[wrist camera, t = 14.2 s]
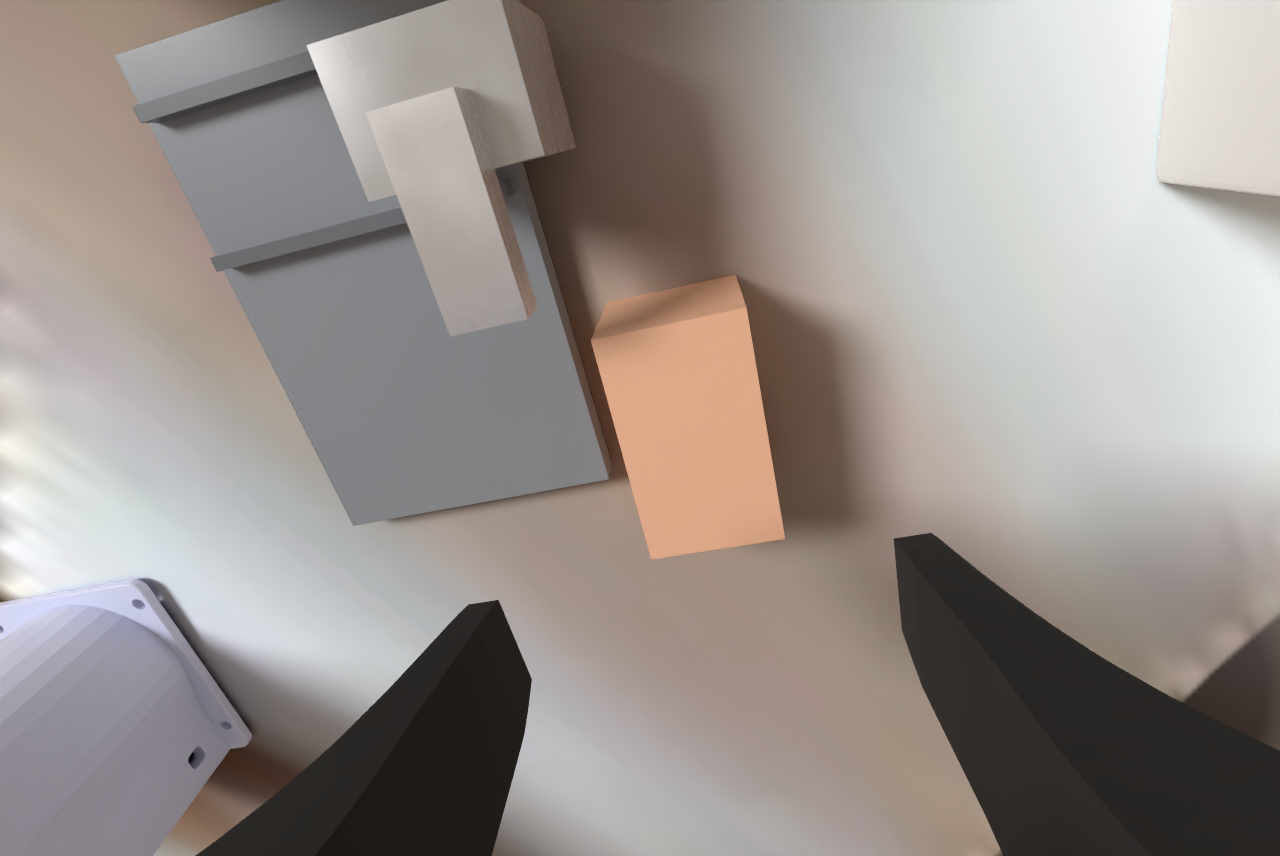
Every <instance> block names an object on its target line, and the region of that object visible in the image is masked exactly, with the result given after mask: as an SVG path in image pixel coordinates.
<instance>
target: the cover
mask: <svg viewBox="0 0 1280 856" xmlns="http://www.w3.org/2000/svg"><path fill="white" fill-rule="evenodd" d="M591 343H592V347H593V350H594V354H595V357H596V361H597V365H598V368H599V372H600V375H601V379H602V383H603V386H604V390H605V394H606V397H607V401H608V404H609V408H610V412H611V415H612V419H613V422H614V426H615V430H616V433H617V437H618V441H619V444H620V448H621V451H622V455H623V459H624V462H625V466H626V469H627V473H628V477H629V480H630V484H631V488H632V491H633V495H634V498H635V502H636V506H637V509H638V513H639V516H640V520H641V524H642V527H643V531H644V535H645V538H646V542H647V545H648V549H649V553H650V556H651V559H656V558H663V557H670V556H676V555H683V554H689V553H696V552H702V551H709V550H716V549H722V548H729V547H735V546H742V545H748V544H755V543H762V542H768V541H775V540H781V539H785V534H784V528H783V523H782V517H781V511H780V505H779V499H778V493H777V487H776V481H775V475H774V469H773V463H772V457H771V451H770V445H769V439H768V433H767V427H766V421H765V415H764V409H763V403H762V397H761V391H760V385H759V379H758V373H757V367H756V361H755V355H754V349H753V343H752V337H751V331H750V325H749V319H748V313H747V307H746V304H745V301H744V298H743V295H742V292H741V289H740V286H739V283H738V280H737V277H736V274H735V275H731V276H726V277H721V278H717V279H712V280H708V281H703V282H699V283H694V284H689V285H685V286H680V287H676V288H671V289H667V290H662V291H657V292H653V293H648V294H644V295H639V296H635V297H630V298H625V299H621V300H616V301H612V302H607V304H606V307H605V309H604V311H603V313H602V316H601V318H600V320H599V323H598V325H597V327H596V329H595V332H594V334H593V336H592V339H591Z"/></svg>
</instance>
